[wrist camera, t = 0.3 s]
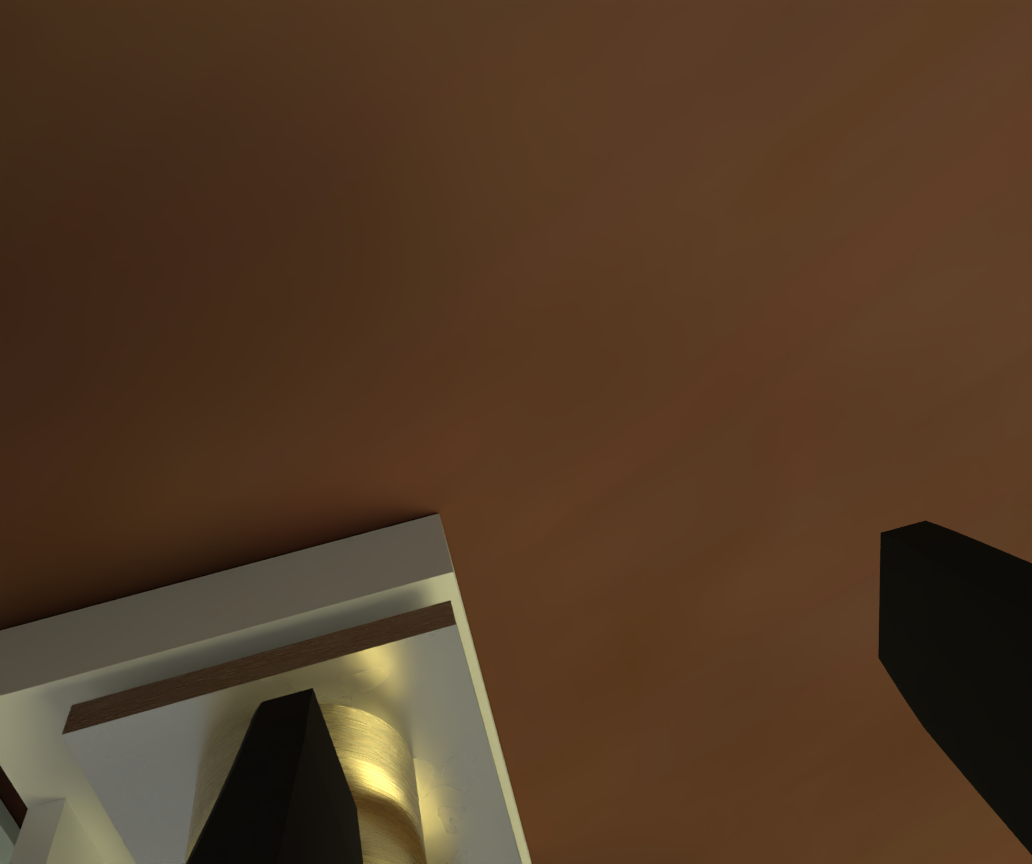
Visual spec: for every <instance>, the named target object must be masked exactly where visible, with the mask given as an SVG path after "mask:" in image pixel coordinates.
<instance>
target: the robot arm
mask: <svg viewBox="0 0 1032 864" xmlns="http://www.w3.org/2000/svg"><path fill="white" fill-rule="evenodd" d="M879 659H880V661H881V662H882V664H883V665H884V667H885V669H886V670H887V672H888V673H889V675H890V677H891V678H892V680H893V681H894V683H895V685H896V686H897V688H898V689H899V691H900V693H901V694H902V696H903V697H904V699H905V700H906V702H907V703H908V705H909V706H910V708H911V709H912V711H913V712H914V713H915V715H916V716H917V718H918V719H919V721H920V722H921V724H922V725H923V727H924V728H925V729H926V730H927V732H928V733H929V734H930V735H931V737H932V738H933V739H934V740H935V741H936V743H937V744H938V745H939V746H940V747H941V749H942V750H943V751H944V752H945V753H946V755H947V756H948V757H949V758H950V759H951V761H952V762H953V763H954V764H955V765H956V767H957V768H958V769H959V770H960V771H961V773H962V774H963V775H964V776H965V777H966V778H967V780H968V781H969V782H970V783H971V784H972V786H973V787H974V788H975V789H976V790H977V791H978V793H979V794H980V795H981V796H982V797H983V798H984V800H985V801H986V802H987V803H988V804H989V805H990V807H991V808H992V809H993V810H994V811H995V812H996V814H997V815H998V816H999V817H1000V818H1001V819H1002V821H1003V822H1004V823H1005V824H1006V825H1007V827H1008V828H1009V829H1010V830H1011V831H1012V832H1013V834H1014V835H1015V836H1016V837H1017V838H1018V839H1019V841H1020V842H1021V843H1022V844H1023V845H1024V846H1025V848H1026V849H1027V850H1028V851H1029V852H1030V853H1031V855H1032V563H1030V562H1027V561H1025V560H1022V559H1020V558H1018V557H1015V556H1013V555H1011V554H1008V553H1006V552H1004V551H1001V550H999V549H996V548H994V547H992V546H989V545H987V544H984V543H982V542H980V541H977V540H975V539H972V538H970V537H967V536H965V535H963V534H960V533H958V532H955V531H952V530H950V529H947V528H945V527H942V526H939V525H937V524H934V523H931V522H928V521H922V522H919V523H915V524H911V525H908V526H904V527H900V528H897V529H893V530H889V531H886V532H882V533H881V549H880V605H879ZM186 864H363V856H362V847H361V839H360V830H359V822H358V813H357V807H356V804H355V802H354V799H353V796H352V793H351V791H350V788H349V785H348V782H347V780H346V777H345V774H344V772H343V769H342V766H341V763H340V761H339V758H338V755H337V752H336V750H335V747H334V744H333V742H332V739H331V736H330V733H329V731H328V728H327V725H326V722H325V720H324V717H323V714H322V711H321V709H320V706H319V703H318V701H317V698H316V695H315V692H314V690H313V688H311V689H307V690H303V691H300V692H296V693H292V694H289V695H285V696H281V697H278V698H274V699H270V700H267V701H263V702H261V703H260V705H259V706H258V708H257V709H256V711H255V712H254V715H253V717H252V720H251V722H250V724H249V727H248V729H247V732H246V734H245V736H244V739H243V741H242V744H241V746H240V748H239V751H238V753H237V755H236V758H235V760H234V762H233V765H232V767H231V769H230V771H229V774H228V776H227V778H226V780H225V782H224V785H223V787H222V789H221V791H220V793H219V796H218V798H217V800H216V802H215V804H214V807H213V809H212V811H211V813H210V815H209V817H208V819H207V821H206V823H205V825H204V827H203V829H202V831H201V833H200V835H199V837H198V839H197V842H196V844H195V846H194V848H193V850H192V852H191V854H190V856H189V858H188V860H187V862H186Z"/></svg>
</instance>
